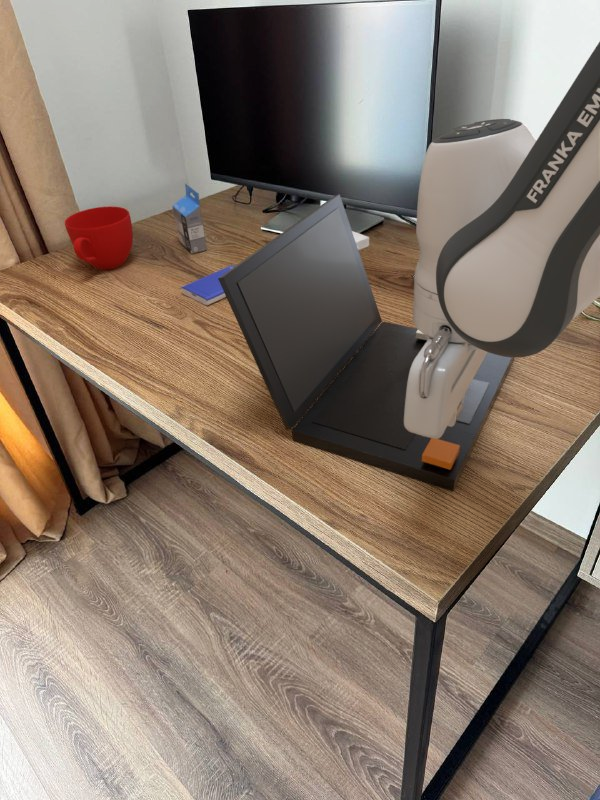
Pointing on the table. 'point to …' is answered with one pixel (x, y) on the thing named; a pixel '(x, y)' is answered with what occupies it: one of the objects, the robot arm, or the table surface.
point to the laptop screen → (303, 307)
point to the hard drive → (206, 288)
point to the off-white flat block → (420, 335)
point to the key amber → (440, 453)
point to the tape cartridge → (190, 222)
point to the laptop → (394, 409)
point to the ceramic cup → (101, 236)
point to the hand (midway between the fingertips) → (450, 418)
